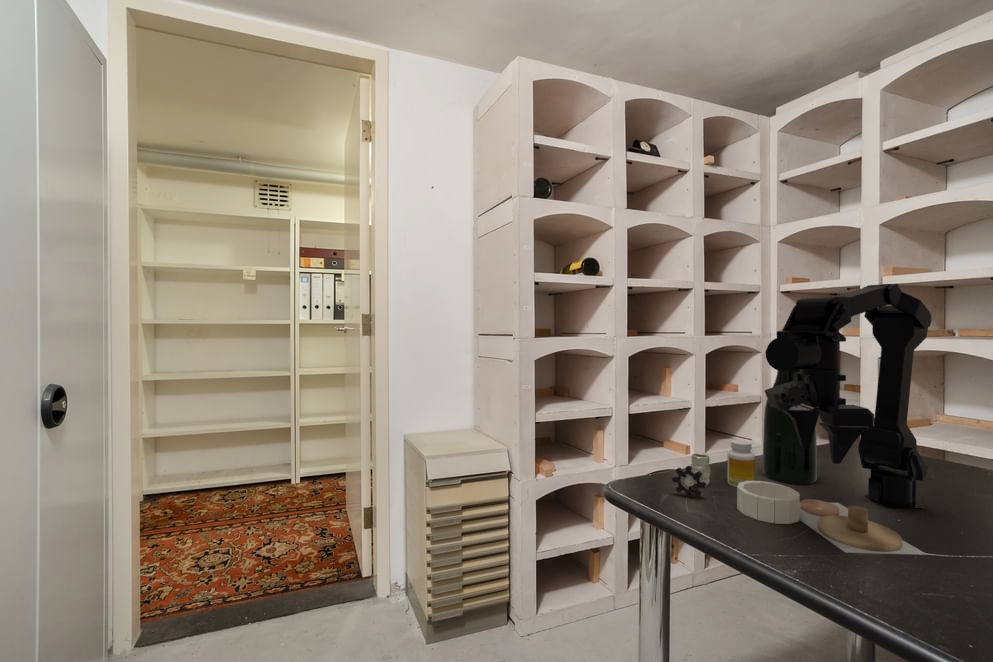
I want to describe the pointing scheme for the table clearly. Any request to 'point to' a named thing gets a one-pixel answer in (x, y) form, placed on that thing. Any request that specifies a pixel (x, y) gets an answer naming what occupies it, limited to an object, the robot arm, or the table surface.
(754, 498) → the bowl
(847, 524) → the lid
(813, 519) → the mat
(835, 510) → the pink glossy dome
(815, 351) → the robot arm
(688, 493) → the valve
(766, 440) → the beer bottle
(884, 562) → the table surface
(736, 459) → the supplement bottle
